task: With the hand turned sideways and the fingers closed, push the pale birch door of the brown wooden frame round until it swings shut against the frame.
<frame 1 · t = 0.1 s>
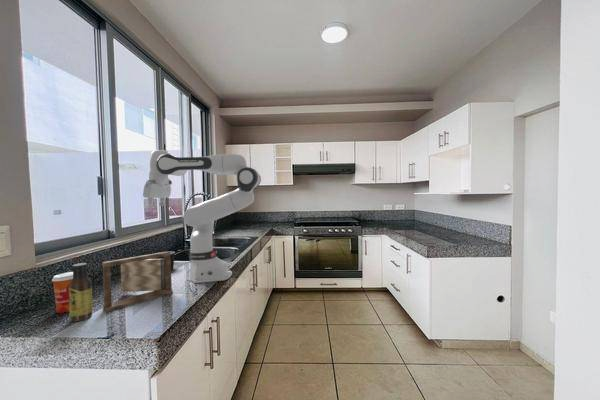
hand: (156, 206, 131), 39 cm above the table, tool pointing down, fingers open, 8 cm apart
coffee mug: (165, 269, 148), on the table
birch door: (142, 275, 110), point 9 cm above the table, hinge at 45.0°
sauce bottle: (81, 318, 89), on the table
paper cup: (66, 310, 96), on the table
brown wooden frame: (140, 299, 105), on the table
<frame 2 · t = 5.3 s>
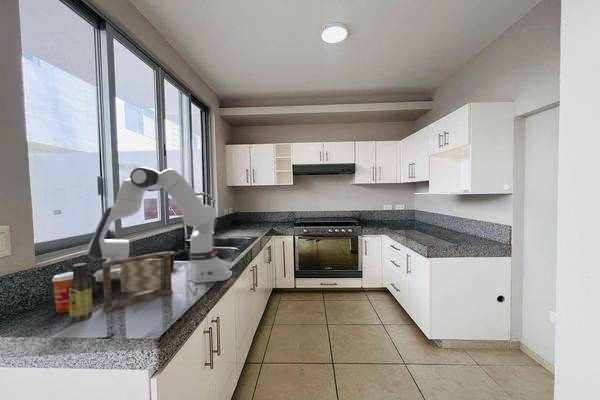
hand: (126, 274, 112), 8 cm above the table, tool horizontal, fingers closed
birch door: (142, 275, 110), point 9 cm above the table, hinge at 44.4°, touching gripper
everything else where it was.
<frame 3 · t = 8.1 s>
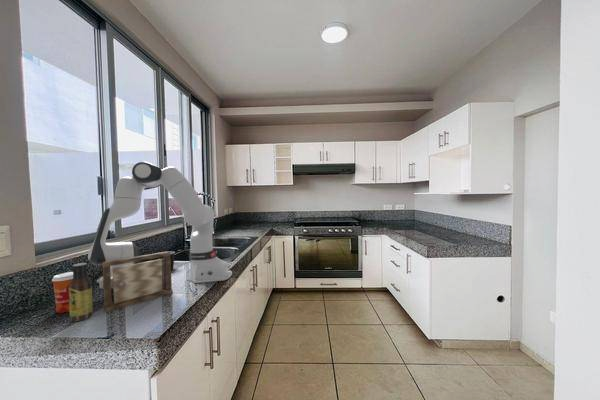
hand: (132, 281, 103), 8 cm above the table, tool horizontal, fingers closed, pressing on birch door
birch door: (141, 279, 104), point 9 cm above the table, hinge at 0.1°, touching gripper
everything else where it was.
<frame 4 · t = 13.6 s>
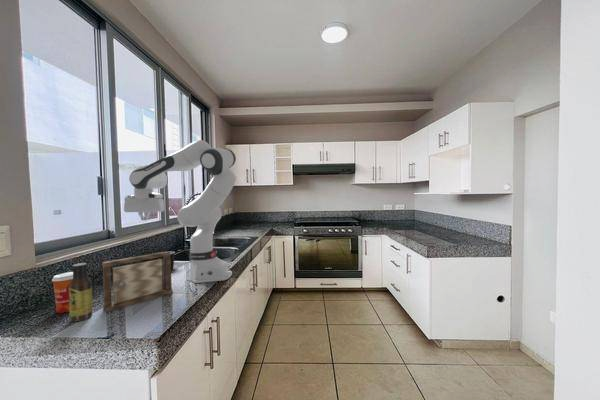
hand: (144, 220, 135), 31 cm above the table, tool pointing down, fingers closed
birch door: (141, 279, 104), point 9 cm above the table, hinge at 0.0°
everything else where it was.
at the end: birch door at +0° (first picture: +45°) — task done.
